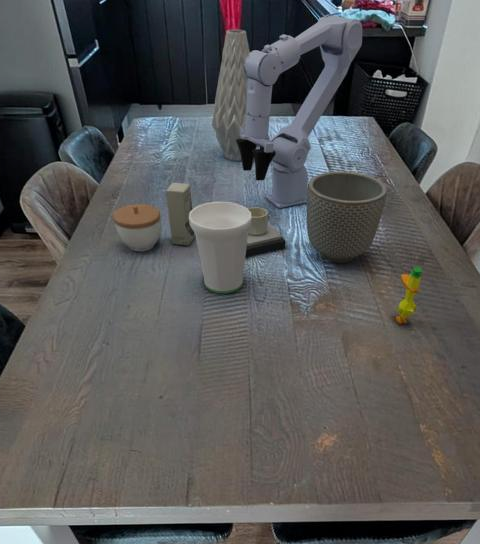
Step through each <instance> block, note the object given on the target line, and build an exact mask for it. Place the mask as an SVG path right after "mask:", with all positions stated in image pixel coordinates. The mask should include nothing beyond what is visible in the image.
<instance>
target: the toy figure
mask: <svg viewBox="0 0 480 544" xmlns="http://www.w3.org/2000/svg"><path fill="white" fill-rule="evenodd" d="M422 271H423V269H422V268H421V267H419V266H415V267H413V269H412V270H411V271H410V273H409V274H408V273H403V274H401V277H400V280H401V282H402V284H403V286H404V288H406V289H405V296H404V299H402V300H401V301H400V302H399V305H398V307H397V308H396V309H397V312H398V314H399V315H397V316H395V321H396V322H397V323H399V324H400V325H401V324H407V323H408V321H407V319H408V318H409V317H410V316H412V315H413V314H414V312H415V311H416V310H417V308H418V306H417V304H415V301H414V298H415V296H416V294H417V293H418V292H419V291H420V283H421V279H422V277H423V274H422Z"/></svg>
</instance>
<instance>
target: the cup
mask: <svg viewBox="0 0 480 544" xmlns="http://www.w3.org/2000/svg"><path fill="white" fill-rule="evenodd" d="M251 221H252V216H251V212H250V211H249V210H248V207H247V206H244V205H241V204H240V203H235V202H230V201H212V202H205V203H202V204H199V205H197V206H195V207H194V208H192V211H190V213H189V223H190V227H191V228H192V230H193V231H194V233H195V239H196V244H197V250H198V255H199V259H200V264H201V269H202V274H203V280H204V286H205V288H206V289H207V290H209V291H210V292H212V293H216V294H231V293H234V292H237V291H239V290H240V289H241V288H242V286H243V285H244V283H243V282H244V272H245V264H246V258H245V256H246V246H247V237H248V231H249V229H250V228H251Z"/></svg>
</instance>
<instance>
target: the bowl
mask: <svg viewBox="0 0 480 544" xmlns="http://www.w3.org/2000/svg"><path fill="white" fill-rule="evenodd" d="M247 209H248V210H249V211H250V212H251V216H252V221H251V228H250V229H249V231H248V234H250V235H255V236H257V235H262V234H264V233H265V232H266V231H267V224H269V221H268V220H269V219H268V218H269V216H268V215H269V212H268V210H267V209H266V208H263V207H259V206H253V207H252V206H251V207H247Z"/></svg>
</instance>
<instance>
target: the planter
mask: <svg viewBox="0 0 480 544" xmlns="http://www.w3.org/2000/svg"><path fill="white" fill-rule="evenodd" d="M387 194H388V189H387V186H386V185H385V183H383V181H381V180H380V179H378V178H376V177H374V176H372V175H368V174H365V173H360V172H356V171H343V170H342V171H341V170H340V171H339V170H338V171H327V172H323V173H319V174H317V175H315V176H313V177H311V179H309V180H308V187H307V203H306V232H307V236H308V237H307V239H308V242H309V243H310V245H311V247H312V248H313V249H314V250H315V251H316V252H318V253H319V255H320V256H321V258H323V259H324V260H325V261H327V262H330V263H333V264H334V263H336V264H346V263H349V262H352V261H354V260H355V258H357V257H358V256H360V255H361V256H362V254H364V253H365V252H366V251H367V250H369V249H370V247H371V245H372V244H373V242H374V240H375V237H376V235H377V231H378V228H379V225H380V222H381V219H382V216H383V211H384V207H385V204H386V200H387V196H388V195H387Z"/></svg>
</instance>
